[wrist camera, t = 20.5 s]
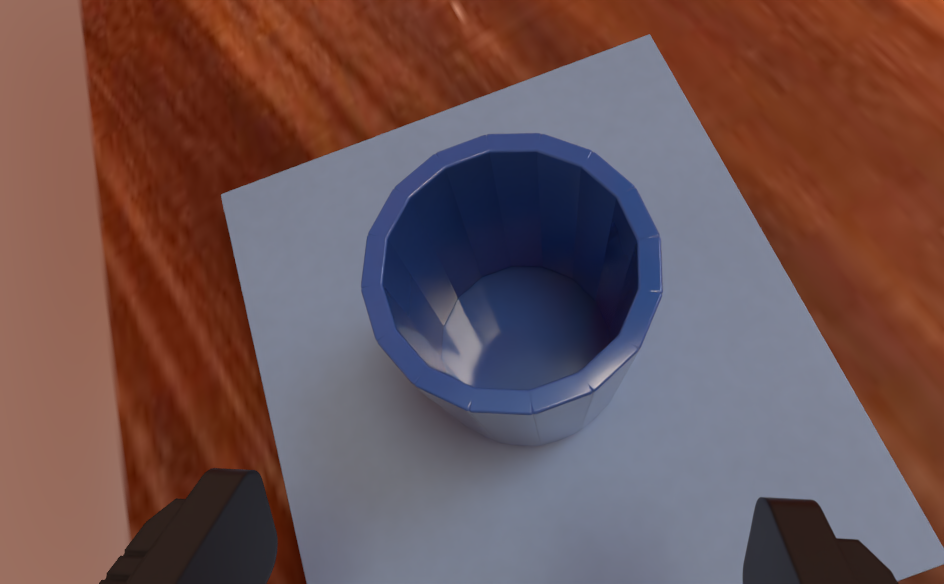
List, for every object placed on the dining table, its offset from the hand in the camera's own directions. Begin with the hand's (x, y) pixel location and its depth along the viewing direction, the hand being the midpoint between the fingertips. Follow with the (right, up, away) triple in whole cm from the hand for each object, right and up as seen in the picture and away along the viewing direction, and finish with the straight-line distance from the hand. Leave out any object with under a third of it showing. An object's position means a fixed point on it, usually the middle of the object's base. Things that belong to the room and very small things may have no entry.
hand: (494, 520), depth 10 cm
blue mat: (+1, +2, +12) cm, 12 cm away
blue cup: (+1, +2, +11) cm, 11 cm away
